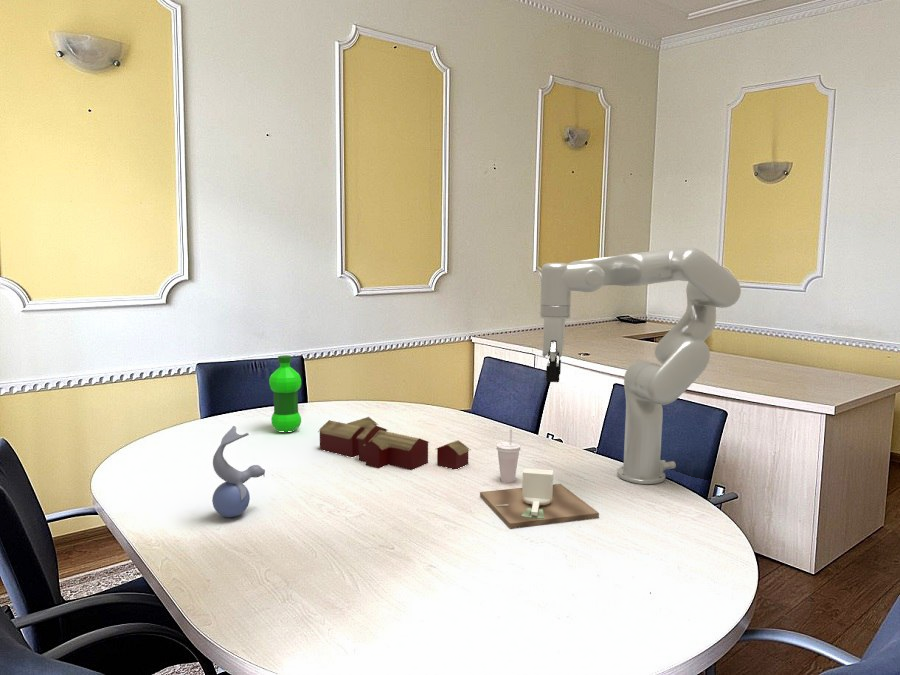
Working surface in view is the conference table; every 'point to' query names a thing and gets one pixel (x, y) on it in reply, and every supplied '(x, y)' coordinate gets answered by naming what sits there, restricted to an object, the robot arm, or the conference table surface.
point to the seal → (232, 480)
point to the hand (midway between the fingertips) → (553, 378)
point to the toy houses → (386, 446)
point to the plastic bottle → (285, 396)
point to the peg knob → (537, 488)
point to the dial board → (559, 510)
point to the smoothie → (508, 459)
